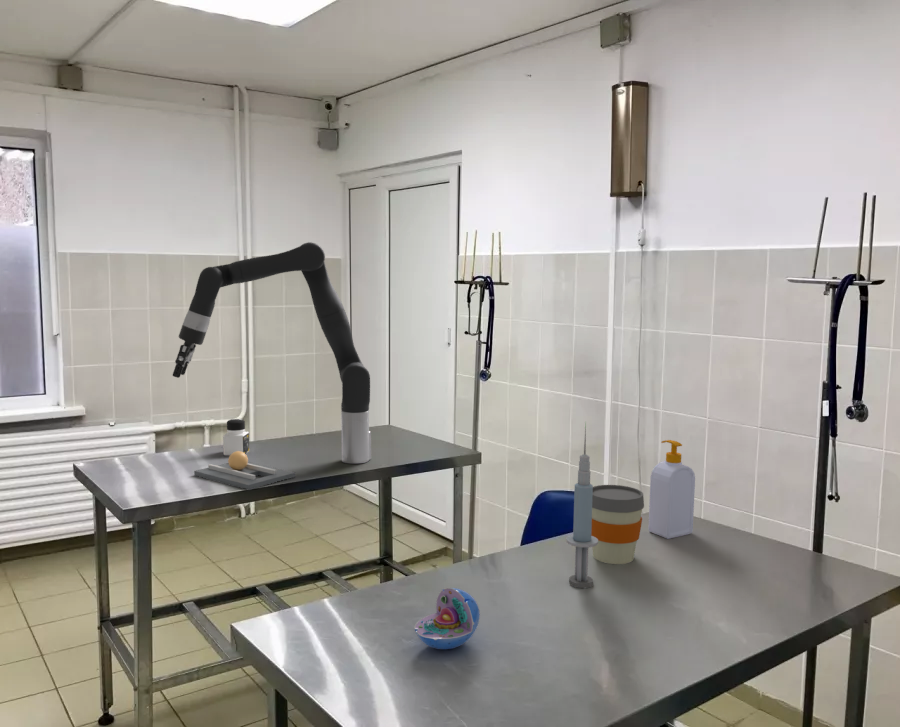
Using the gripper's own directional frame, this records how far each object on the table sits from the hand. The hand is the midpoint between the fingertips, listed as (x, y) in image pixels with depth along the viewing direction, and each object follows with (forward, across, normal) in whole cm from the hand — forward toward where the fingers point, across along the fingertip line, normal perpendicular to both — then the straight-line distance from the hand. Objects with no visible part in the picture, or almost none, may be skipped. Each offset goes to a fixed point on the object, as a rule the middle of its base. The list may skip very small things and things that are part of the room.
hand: (178, 375), depth 241 cm
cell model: (+10, -128, -73) cm, 147 cm away
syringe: (-1, -106, -102) cm, 147 cm away
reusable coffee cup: (-6, -92, -114) cm, 147 cm away
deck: (+22, -11, -30) cm, 39 cm away
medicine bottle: (+23, +21, -24) cm, 40 cm away
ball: (+18, -9, -26) cm, 33 cm away
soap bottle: (-13, -79, -133) cm, 155 cm away
